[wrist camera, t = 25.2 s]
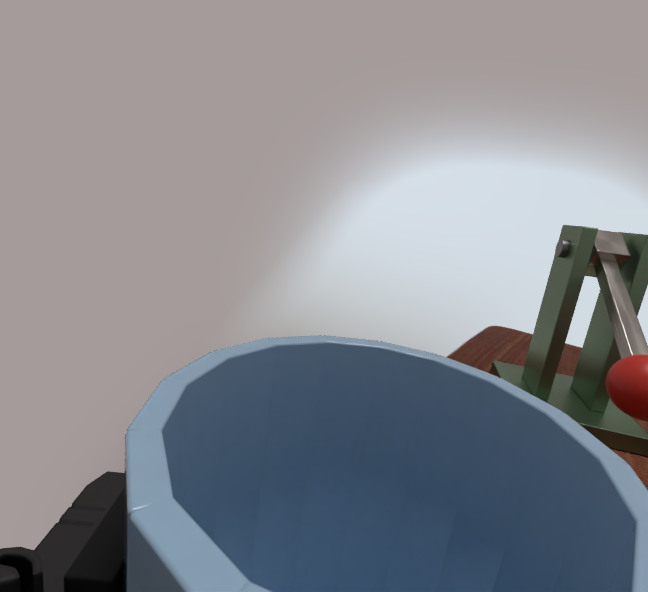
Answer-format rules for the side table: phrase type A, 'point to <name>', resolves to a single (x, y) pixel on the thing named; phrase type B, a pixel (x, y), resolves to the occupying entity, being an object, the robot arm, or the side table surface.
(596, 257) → the power lever
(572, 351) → the side table surface
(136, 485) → the cup
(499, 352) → the side table surface
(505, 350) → the side table surface
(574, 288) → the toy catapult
